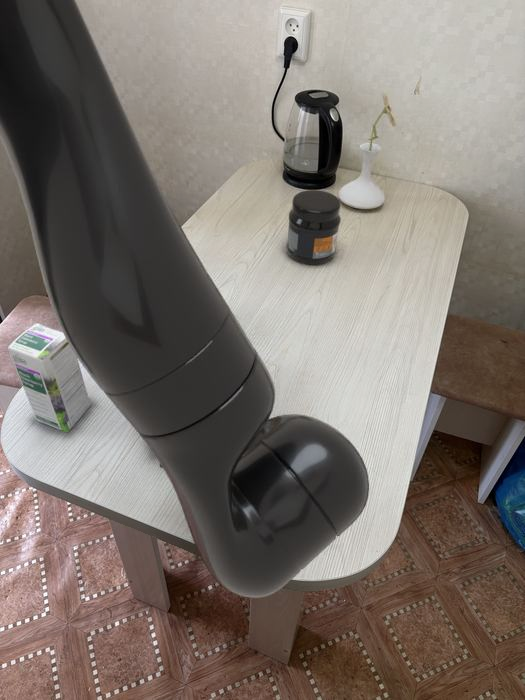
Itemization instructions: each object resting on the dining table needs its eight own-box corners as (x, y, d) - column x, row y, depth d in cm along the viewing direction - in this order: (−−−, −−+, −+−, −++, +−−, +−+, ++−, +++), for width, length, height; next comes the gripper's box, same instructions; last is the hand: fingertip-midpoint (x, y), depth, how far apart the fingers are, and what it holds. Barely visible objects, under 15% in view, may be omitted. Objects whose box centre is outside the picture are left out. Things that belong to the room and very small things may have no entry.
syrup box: (34, 421, 73) (3, 348, 63) (61, 393, 77) (35, 320, 67) (67, 433, 71) (41, 361, 61) (92, 404, 75) (71, 331, 65)
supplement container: (344, 259, 107) (353, 207, 98) (300, 270, 103) (307, 217, 95) (318, 235, 113) (325, 184, 105) (277, 245, 110) (281, 193, 101)
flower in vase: (376, 218, 120) (400, 107, 103) (331, 206, 124) (347, 97, 106) (390, 196, 129) (414, 90, 112) (347, 185, 132) (365, 81, 115)
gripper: (292, 399, 47) (252, 392, 63) (147, 430, 43) (145, 413, 60) (307, 479, 47) (263, 450, 63) (163, 516, 43) (157, 475, 60)
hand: (205, 432), depth 62 cm, fingers closed
